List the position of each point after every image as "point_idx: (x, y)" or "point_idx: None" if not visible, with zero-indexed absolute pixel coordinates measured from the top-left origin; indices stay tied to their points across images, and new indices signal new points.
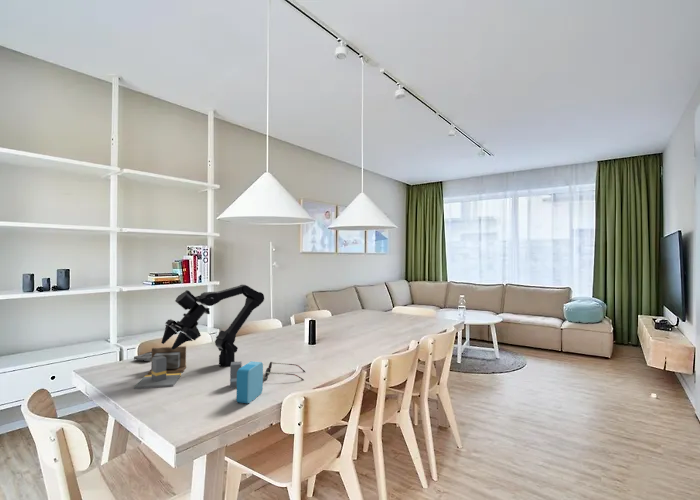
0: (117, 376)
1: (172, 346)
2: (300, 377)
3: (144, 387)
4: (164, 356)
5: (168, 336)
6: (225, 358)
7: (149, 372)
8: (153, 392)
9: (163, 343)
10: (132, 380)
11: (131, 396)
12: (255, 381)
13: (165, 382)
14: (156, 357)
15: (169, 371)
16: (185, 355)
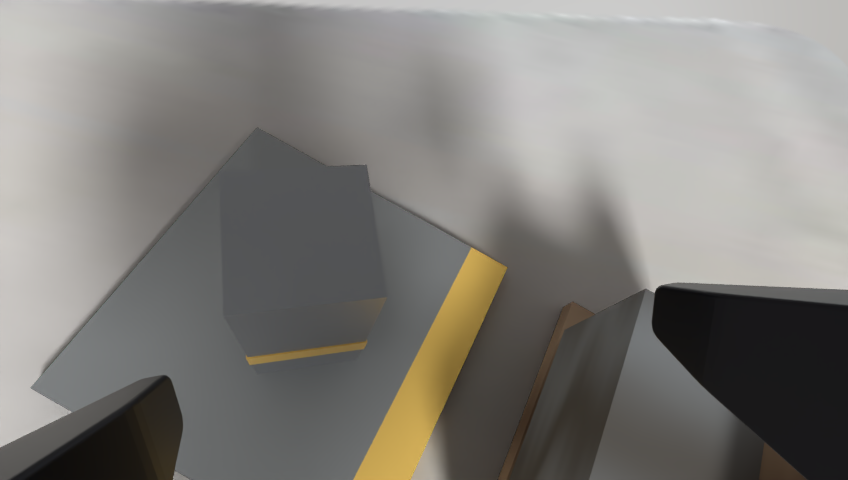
0: (620, 141)
1: (143, 387)
2: None
3: (211, 186)
4: (599, 413)
5: (841, 439)
6: None
7: (567, 312)
8: (38, 209)
9: (658, 331)
10: (473, 183)
11: (98, 80)
12: None
13: (162, 341)
14: (335, 207)
15: (505, 477)
16: None
